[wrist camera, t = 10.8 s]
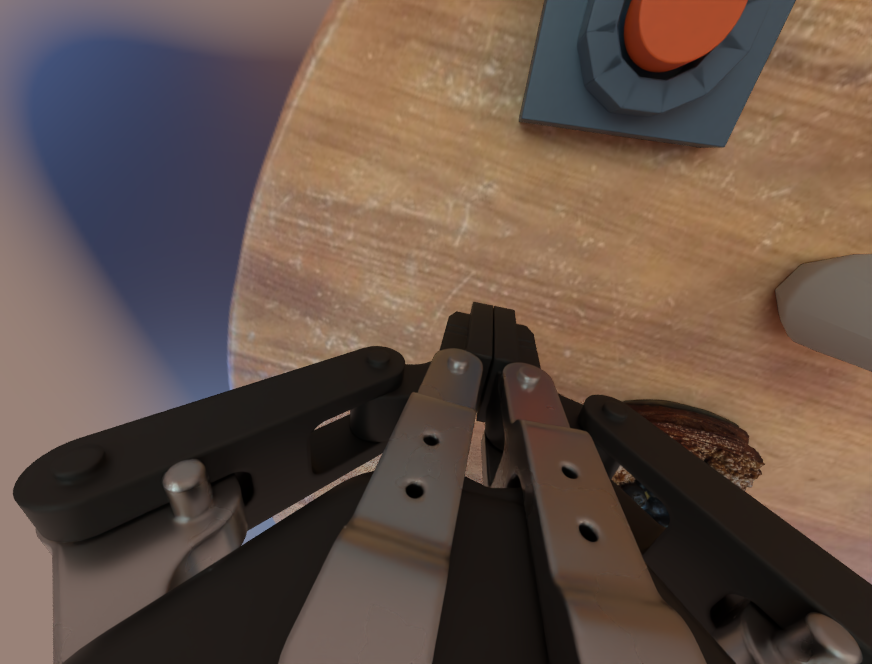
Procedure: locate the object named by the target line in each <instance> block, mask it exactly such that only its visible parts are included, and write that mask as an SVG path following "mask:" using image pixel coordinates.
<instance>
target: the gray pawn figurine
mask: <svg viewBox="0 0 872 664" xmlns="http://www.w3.org/2000/svg"><path fill="white" fill-rule="evenodd" d="M775 292H776V299H777V306H778V313H779V316H780V320H781V323H782V325H783V327H784V329H785V331H786V333H787V334H788V336H789V337H790V338H791V339H792V340H793V341H794V342H796V343H798V344H801V345H803V346H805V347H808V348H810V349H812V350H815V351H818V352H820V353H823V354H826V355H829V356H831V357H834V358H837V359H839V360H842V361H845V362H848V363H850V364H853V365H856V366H858V367H861V368H864V369H866V370H869V371H871V372H872V254H852V255H847V256H842V257H837V258H832V259H826V260H821V261H816V262H810V263H805V264H801V265H800V266H799V267H798V268H797V269H796V270H795V271H794V272H793V273H792V274H791V275H790V276H789V277H788V278H787V279H786V280H785V281H783V282H782V283H781V284H780V285H779V286H778V287H777V288H776V289H775Z"/></svg>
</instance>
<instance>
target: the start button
mask: <svg viewBox="0 0 872 664" xmlns="http://www.w3.org/2000/svg"><path fill="white" fill-rule="evenodd" d="M747 1H748V0H631V2H630V5H629V8H628V10H627V14H626V18H625V24H624V42H625V47H626V50H627V53H628V55H629V56H630V58H631V60H632V61H633V62H634V63H635V64H636V65H637V66H638V67H640V68H641V69H643V70H646V71H649V72H658V73H659V72H666V71H670V70H673V69H676V68H678V67H680V66H683V65H685V64H687V63H689V62H692V61H694V60H696V59H698V58H700V57H702V56H704V55H705V54H707V53H708V52H710V51H711V50H713V49H714V48H715V47H716V46H718V45H719V44H720V43H721V42H722V41H723V40H724V39H725V38H726V36H727V35H728V34H729V33H730V32H731V30H732V29H733V28H734V26H735V25H736V23H737V22H738V20H739V18H740V17H741V15H742V13H743V11H744V8H745V6H746V4H747Z"/></svg>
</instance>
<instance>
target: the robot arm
mask: <svg viewBox="0 0 872 664" xmlns="http://www.w3.org/2000/svg"><path fill="white" fill-rule="evenodd" d="M536 349H537V348H536V344H535V339H534V334H533V333H532V332H531V331H530V330H529V328H528V327H527V326H524V325H519V324H516V318H515V310H512V309H507V308H502V307H497V306H494V308H493V306H492V305H487V304H482V303H478V302H473V304H472V309H471V313H470V314H466V313H461V312H457V311H456V312H455V313H453V314H452V315H451V316H449V318H448V322H447V326H446V329H445V333H444V336H443V340H442V344H441V347H440V351H438V352H437V353H436V354H435V355H434V357H433V359H432V361H431V362H428V363H424V364H415V365H413V364H405V360H404V358H403V356H402V355H401V354H400V353H399V352H397V351H395V350H393V349H391V348H387V347H382V346H371V347H366V348H362V349H359V350H356V351H353V352H350V353H346V354H343V355H340V356H337V357H334V358H331V359H327V360H324V361H321V362H318V363H315V364H312V365H309V366H305V367H302V368H299V369H296V370H293V371H290V372H287V373H283V374H280V375H277V376H274V377H271V378H268V379H264V380H261V381H258V382H255V383H252V384H249V385H246V386H242V387H239V388H236V389H233V390H230V391H227V392H223V393H220V394H217V395H214V396H211V397H208V398H205V399H201V400H198V401H195V402H192V403H189V404H186V405H182V406H180V407H176V408H173V409H170V410H167V411H164V412H161V413H157V414H154V415H151V416H148V417H145V418H142V419H138V420H135V421H132V422H129V423H126V424H123V425H119V426H116V427H113V428H110V429H107V430H104V431H101V432H98V433H94V434H91V435H88V436H85V437H82V438H79V439H76V440H73V441H70V442H68V443H66V444H63V445H61V446H59V447H57V448H55V449H53V450H51V451H50V452H48V453H46V454H45V455H43V456H41V457H40V458H39V459H37V460H36V461H35V462H33V463H32V464H31V465H30V466H29V467H28V468H26V469H25V471H24V472H23V473H22V474H21V475H20V477H19V478H18V480H17V481H16V483H15V486H14V489H13V496H14V499H15V501H16V502H17V503H18V505H19V506H20V508H21V509H22V510H23V511H24V513H25V514H26V515H27V517H28V518H29V519H30V521H31V522H32V523H33V525H34V526H35V527H36V533H37V537H38V538H39V539H40V540H41V542H42V543H43V544H44V546H45V547H46V548H47V549H48V551H49V552H50V553H51V555H52V563H53V656H54V657H53V658H54V659H53V660H54V664H872V585H871V584H870V583H869V582H867V581H866V580H865V579H863V578H862V577H860V576H859V575H858V574H856V573H855V572H854V571H852V570H851V569H850V568H848V567H847V566H845V565H844V564H843V563H841V562H840V561H839V560H837V559H836V558H835V557H833V556H832V555H831V554H829V553H828V552H826V551H825V550H824V549H822V548H821V547H820V546H818V545H817V544H816V543H814V542H813V541H812V540H810V539H809V538H807V537H806V536H805V535H803V534H802V533H801V532H799V531H798V530H797V529H795V528H794V527H792V526H791V525H790V524H788V523H787V522H786V521H784V520H783V519H782V518H780V517H779V516H778V515H776V514H775V513H773V512H772V511H771V510H769V509H768V508H767V507H765V506H764V505H763V504H761V503H760V502H758V501H757V500H756V499H754V498H753V497H752V496H750V495H749V494H748V493H746V492H745V491H744V490H742V489H741V488H739V487H738V486H737V485H735V484H734V483H733V482H731V481H730V480H729V479H727V478H726V477H724V476H723V475H722V474H720V473H719V472H718V471H716V470H715V469H714V468H712V467H711V466H710V465H708V464H707V463H705V462H704V461H703V460H701V459H700V458H699V457H697V456H696V455H695V454H693V453H692V452H691V451H689V450H688V449H686V448H685V447H684V446H682V445H681V444H680V443H678V442H677V441H676V440H674V439H673V438H671V437H670V436H669V435H667V434H666V433H665V432H663V431H662V430H661V429H659V428H658V427H657V426H655V425H654V424H652V423H651V422H650V421H648V420H647V419H646V418H644V417H643V416H642V415H640V414H639V413H637V412H636V411H635V410H633V409H632V408H631V407H629V406H628V405H626V404H625V403H623V402H621V401H619V400H617V399H615V398H612V397H609V396H605V395H592V396H589V397H588V398H587V399H586V400H585V402H584V404H583V405H582V404H580V403H578V402H575V401H573V400H571V399H568V398H566V397H564V396H562V395H560V394H558V393H557V390H556V388H555V385H554V382H553V380H552V378H551V377H550V376H549V375H548V374H547V373H546V372H545V371H543V370H541V368H540V363H539V358H538V353H537V351H536ZM349 410H350V414H349V415H347V416H345V417H343V418H341V419H338V420H336V421H334V422H332V423H329V424H327V425H325V426H323V427H321V428H318V429H316V430H314V429H315V428H316V427H317V426H318V425H319V424H321V423H322V422H324V421H326V420H328V419H331V418H333V417H335V416H337V415H340V414H342V413H344V412H346V411H349ZM476 413H477V420H476V421H481V422H485V430H484V434H483V437H482V440H481V455H482V476H483V485H482V484H480V483H478V482H476V481H473V480H471V479H469V478H467V477H465V471H466V465H467V460H468V455H469V449H470V444H471V438H472V433H473V428H474V422H475V417H476ZM382 453H383V454H382ZM380 454H382V456H381V458H380V460H379V462H378V464H377V466H376V468H375V470H374V471H372V472H368V473H364V474H361V475H358V476H355V477H352V478H350V479H348V480H346V481H344V482H342V483H340V484H339V485H337V486H335V487H334V488H332V489H330V490H329V491H327V492H326V493H324V494H323V495H321V496H319V497H318V498H316V499H315V500H313V501H311V502H310V503H308V504H307V505H305V506H304V507H302V508H300V509H299V510H297V511H296V512H294V513H292V514H291V515H289V516H288V517H286V518H285V519H283V520H281V521H280V522H278V523H277V524H275V525H273V526H272V527H270V528H269V529H267V530H265V531H264V532H262V533H261V534H259V535H258V536H256V537H255V538H253V539H251V540H250V541H248V542H246V543H245V544H244V545H242V543H243V541H244V539H245V537H246V533H247V531H248V530H250V529H252V528H253V527H255V526H257V525H259V524H260V523H262V522H264V521H265V520H267V519H269V518H271V517H272V516H274V515H276V514H278V513H279V512H281V511H283V510H285V509H286V508H288V507H290V506H291V505H293V504H295V503H297V502H298V501H300V500H302V499H304V498H305V497H307V496H309V495H311V494H312V493H314V492H316V491H318V490H319V489H321V488H323V487H324V486H326V485H328V484H330V483H331V482H333V481H335V480H337V479H338V478H340V477H342V476H344V475H345V474H347V473H349V472H350V471H352V470H354V469H356V468H357V467H359V466H361V465H363V464H364V463H366V462H368V461H370V460H371V459H373V458H375V457H377V456H378V455H380ZM620 465H621V466H622V467H623V468H624V469H625V470H626V471H628V472H629V473H630V474H631V475H632V476H633V477H634V478H635V479H637V480H638V481H639V482H640V483H641V484H642V485H643V486H644V487H645V488H647V489H648V490H649V491H650V492H651V493H652V494H653V495H654V496H656V497H657V498H658V499H659V500H660V501H661V502H662V503H663V504H664V506H665V507H666V509H667V511H668V513H669V517H670V522H669V525H668V526H667V528H665V527H663V526H661V525H660V524H658V523H657V522H656V521H655V520H654V519H653V518H652V517H651V516H650V515H649V514H648V513H646V512H645V511H644V510H643V509H642V508H641V507H640V506H639V505H638V504H637V503H636V502H635V501H634V500H633V499H632V498H631V497H630V496H629V495H628V494H626V493H625V492H624V491H623V490H622V489H621V488H620V487H619V486H618V485H617V484H616V483H615V482H614V481H613V480H612V478H613V476H614V474H615V473H616V471H617V470H618V468H619V467H620ZM241 545H242V546H241Z"/></svg>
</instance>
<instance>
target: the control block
mask: <svg viewBox="0 0 872 664" xmlns="http://www.w3.org/2000/svg"><path fill="white" fill-rule="evenodd" d="M795 1H796V0H748V1H747V4H746V6H745V8H744V11H743V13H742V15H741V17H740V18H739V20H738V22H737V23H736V25H735V26H734V28H733V29H732V30H731V32H730V33H729V34H728V35H727V36H726V38H725V39H724V40H723V41H722V42H721V43H720V44H719V45H718V46H716V47H715V48H714V49H713V50H711V51H710V52H708V53H707V54H705V55H704V56H702V57H700V58H698V59H696V60H694V61H692V62H689V63H687V64H685V65H683V66H680V67H678V68H676V69H673V70H670V71H666V72H659V73H658V72H649V71H646V70H643V69H641V68H640V67H638V66H637V65H636V64H635V63H634V62H633V61H632V60H631V58H630V56H629V55H628V53H627V50H626V47H625V42H624V24H625V18H626V14H627V10H628V8H629V5H630V2H631V0H544V4H543V9H542V13H541V18H540V23H539V28H538V32H537V37H536V42H535V46H534V51H533V56H532V60H531V65H530V70H529V74H528V79H527V84H526V89H525V93H524V98H523V103H522V107H521V112H520V117H519V122H524V123H531V124H538V125H545V126H552V127H559V128H566V129H573V130H580V131H587V132H594V133H601V134H608V135H615V136H622V137H629V138H636V139H643V140H650V141H657V142H664V143H671V144H678V145H685V146H692V147H699V148H715V147H725V145H726V143H727V141H728V139H729V137H730V135H731V133H732V131H733V129H734V127H735V124H736V122H737V120H738V118H739V116H740V114H741V112H742V110H743V108H744V106H745V104H746V102H747V100H748V98H749V96H750V94H751V92H752V89H753V87H754V85H755V83H756V81H757V79H758V77H759V75H760V73H761V71H762V69H763V67H764V65H765V63H766V61H767V59H768V56H769V54H770V52H771V50H772V48H773V46H774V44H775V42H776V40H777V38H778V36H779V34H780V32H781V30H782V28H783V26H784V24H785V21H786V19H787V17H788V15H789V13H790V11H791V9H792V7H793V5H794V3H795Z"/></svg>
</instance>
